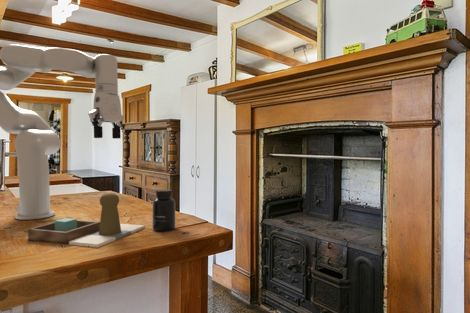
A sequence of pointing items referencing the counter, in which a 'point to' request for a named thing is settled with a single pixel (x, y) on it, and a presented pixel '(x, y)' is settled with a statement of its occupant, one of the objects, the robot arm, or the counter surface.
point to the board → (105, 236)
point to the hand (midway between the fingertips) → (107, 138)
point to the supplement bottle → (163, 211)
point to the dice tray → (50, 235)
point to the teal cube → (65, 224)
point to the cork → (109, 215)
